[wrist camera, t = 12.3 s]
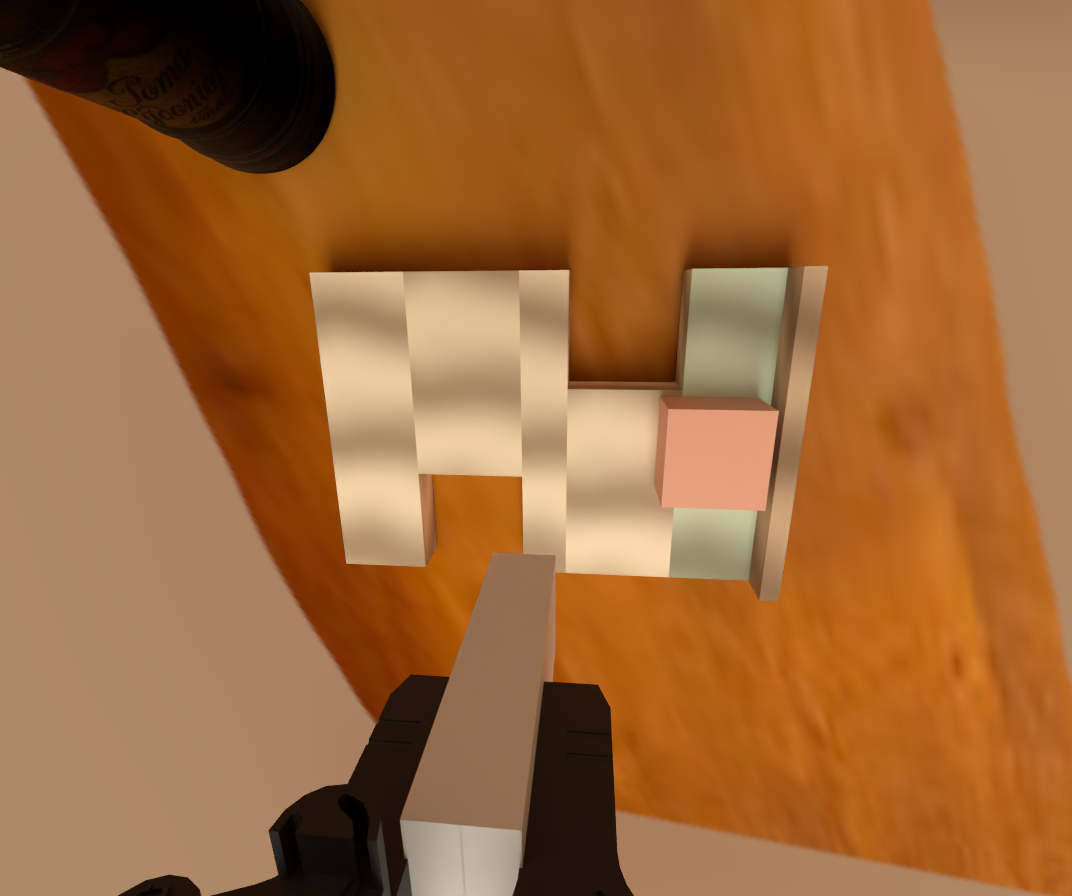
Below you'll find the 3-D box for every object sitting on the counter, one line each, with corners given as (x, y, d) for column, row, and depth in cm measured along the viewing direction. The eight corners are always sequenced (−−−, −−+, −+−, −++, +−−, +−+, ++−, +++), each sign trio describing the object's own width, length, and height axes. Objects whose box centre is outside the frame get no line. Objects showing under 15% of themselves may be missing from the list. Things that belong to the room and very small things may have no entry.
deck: (331, 273, 30) (288, 271, 25) (790, 269, 27) (828, 265, 23) (363, 544, 35) (331, 580, 30) (753, 559, 32) (778, 601, 28)
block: (660, 396, 27) (668, 409, 25) (758, 397, 27) (779, 410, 24) (654, 485, 29) (661, 507, 26) (747, 488, 28) (765, 510, 26)
